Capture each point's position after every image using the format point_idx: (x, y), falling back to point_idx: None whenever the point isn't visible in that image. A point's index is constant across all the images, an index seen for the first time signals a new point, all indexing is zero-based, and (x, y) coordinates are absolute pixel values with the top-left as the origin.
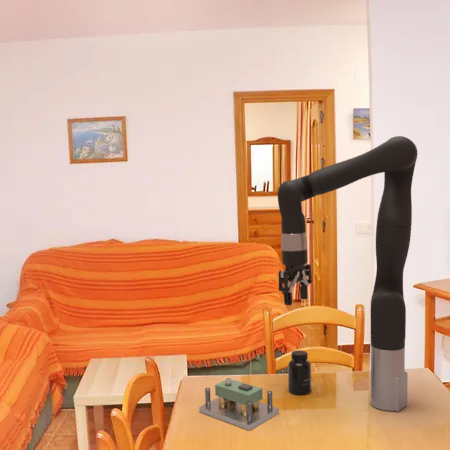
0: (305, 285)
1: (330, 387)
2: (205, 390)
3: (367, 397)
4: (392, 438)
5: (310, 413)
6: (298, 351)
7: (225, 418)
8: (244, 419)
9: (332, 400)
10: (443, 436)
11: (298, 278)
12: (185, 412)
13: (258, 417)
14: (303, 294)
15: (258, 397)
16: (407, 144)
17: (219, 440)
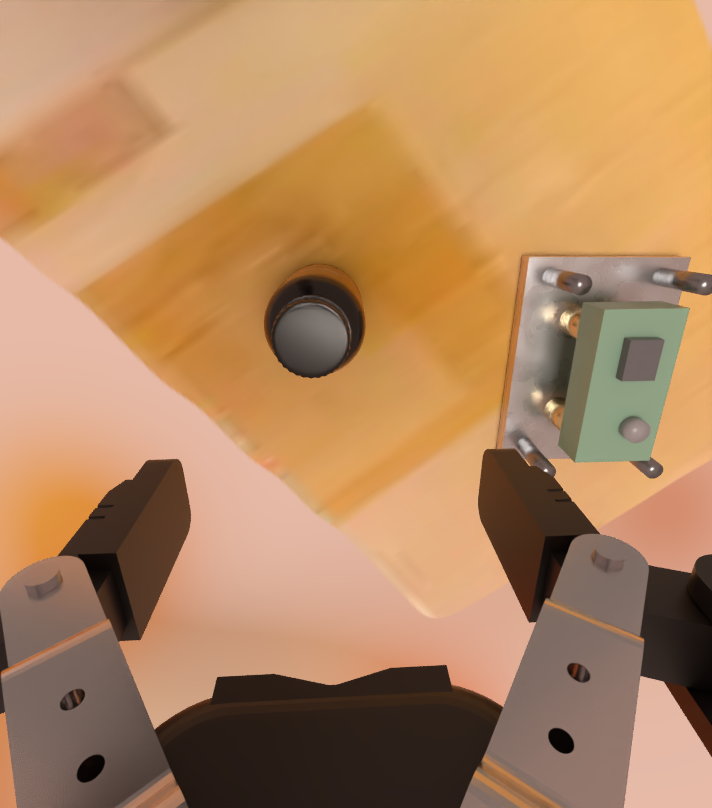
0: (94, 591)
1: (215, 228)
2: (660, 470)
3: (194, 33)
4: None
5: (465, 159)
6: (298, 355)
7: None
8: (659, 296)
9: (316, 151)
10: None
11: (338, 753)
12: (645, 476)
13: (627, 268)
14: (166, 521)
15: (613, 304)
16: None
17: None
